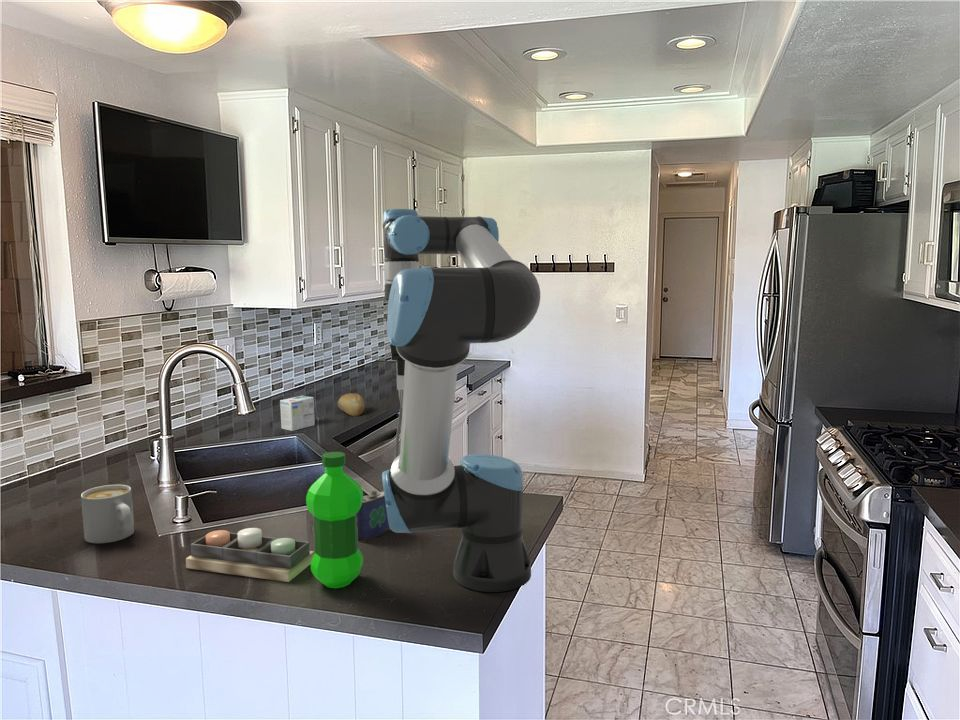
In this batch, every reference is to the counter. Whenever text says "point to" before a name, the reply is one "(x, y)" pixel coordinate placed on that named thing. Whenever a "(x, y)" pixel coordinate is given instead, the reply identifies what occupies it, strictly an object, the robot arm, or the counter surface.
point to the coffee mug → (107, 513)
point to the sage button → (283, 546)
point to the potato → (351, 404)
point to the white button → (249, 538)
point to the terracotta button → (218, 538)
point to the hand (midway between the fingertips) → (403, 389)
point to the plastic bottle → (335, 523)
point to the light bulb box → (297, 413)
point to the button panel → (250, 559)
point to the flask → (372, 517)
